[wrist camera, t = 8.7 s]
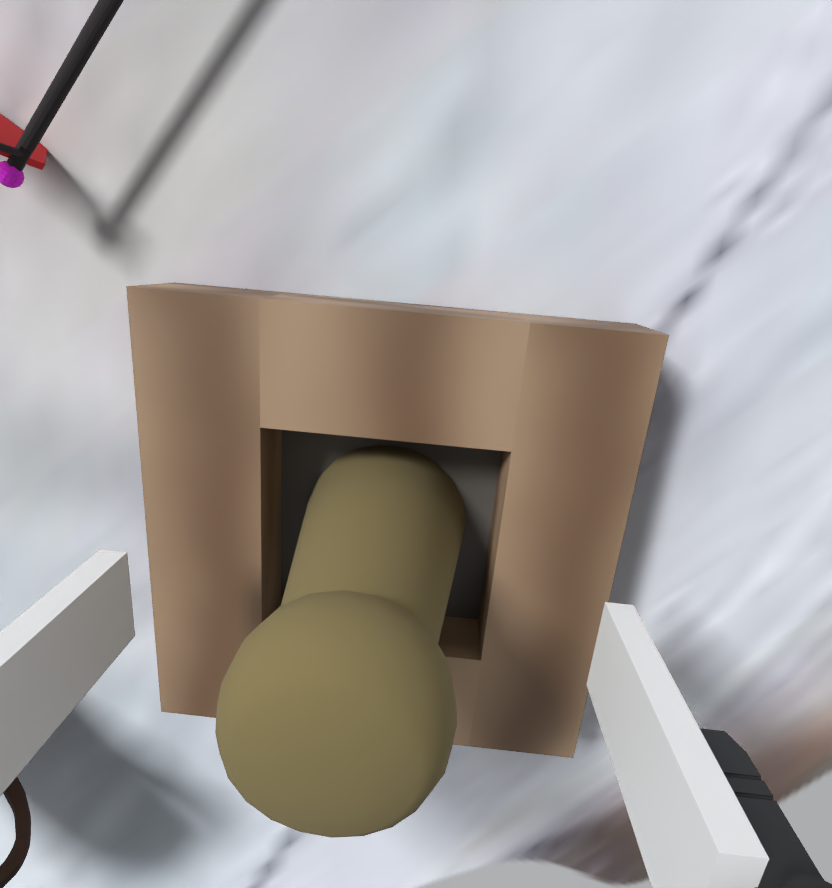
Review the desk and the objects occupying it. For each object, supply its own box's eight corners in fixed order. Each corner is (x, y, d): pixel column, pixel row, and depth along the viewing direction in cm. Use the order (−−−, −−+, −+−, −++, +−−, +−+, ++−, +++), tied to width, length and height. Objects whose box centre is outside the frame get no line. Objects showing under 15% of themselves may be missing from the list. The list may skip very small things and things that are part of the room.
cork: (330, 422, 20) (198, 606, 9) (489, 475, 20) (530, 710, 10) (290, 561, 22) (144, 839, 11) (435, 607, 22) (421, 919, 12)
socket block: (195, 658, 24) (161, 711, 21) (174, 282, 19) (126, 286, 16) (558, 698, 24) (573, 757, 21) (635, 324, 19) (669, 334, 16)
